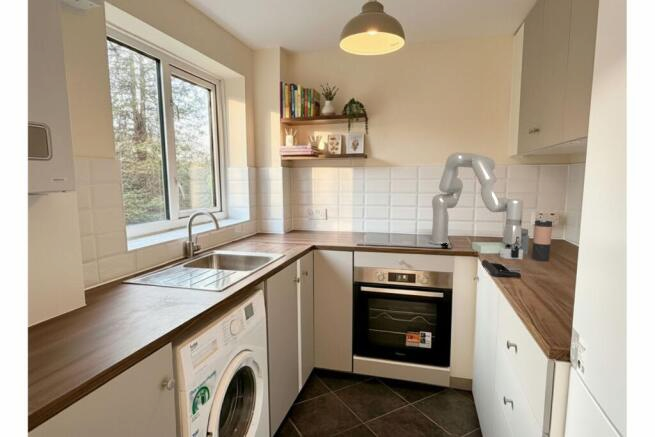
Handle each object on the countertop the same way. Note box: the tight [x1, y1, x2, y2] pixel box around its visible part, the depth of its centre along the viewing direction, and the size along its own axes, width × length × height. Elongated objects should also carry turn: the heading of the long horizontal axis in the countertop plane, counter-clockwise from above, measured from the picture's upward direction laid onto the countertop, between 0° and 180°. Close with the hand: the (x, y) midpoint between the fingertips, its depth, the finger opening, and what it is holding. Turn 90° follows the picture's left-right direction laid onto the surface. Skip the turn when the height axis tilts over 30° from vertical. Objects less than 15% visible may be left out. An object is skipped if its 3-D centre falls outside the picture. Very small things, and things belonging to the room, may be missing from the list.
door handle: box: [481, 259, 522, 278], centre depth 149 cm, size 3×20×16 cm
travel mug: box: [532, 219, 553, 262], centre depth 172 cm, size 8×8×20 cm
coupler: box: [471, 227, 530, 255], centre depth 191 cm, size 12×28×13 cm, turn 89°
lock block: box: [499, 247, 524, 260], centre depth 177 cm, size 6×9×5 cm, turn 79°
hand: (511, 255), depth 177 cm, fingers closed on lock block, 6 cm apart
